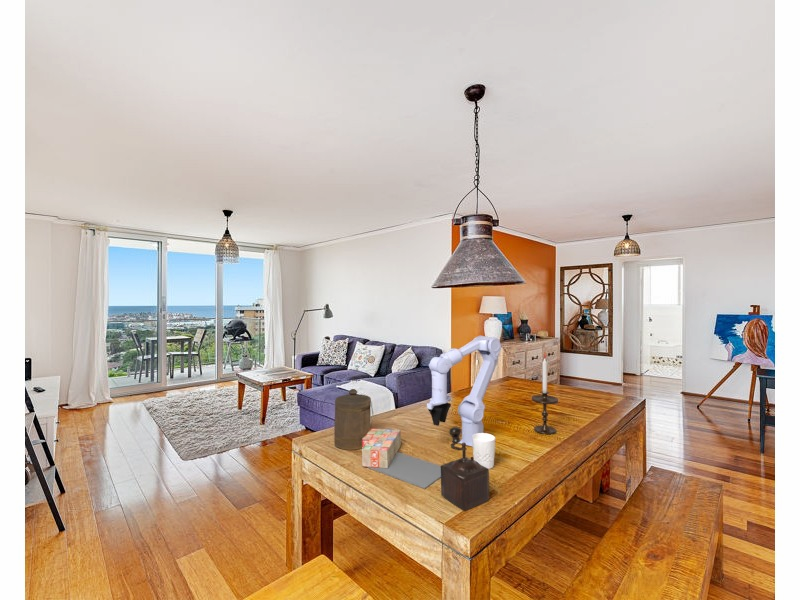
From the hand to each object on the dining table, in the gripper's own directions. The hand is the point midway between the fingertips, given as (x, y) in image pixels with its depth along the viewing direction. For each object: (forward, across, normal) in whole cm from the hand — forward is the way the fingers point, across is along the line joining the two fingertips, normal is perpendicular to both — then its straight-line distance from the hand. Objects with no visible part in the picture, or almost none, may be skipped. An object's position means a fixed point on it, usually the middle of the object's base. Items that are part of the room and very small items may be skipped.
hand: (439, 423), depth 147 cm
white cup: (+11, +2, +19) cm, 22 cm away
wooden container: (+11, +15, -32) cm, 37 cm away
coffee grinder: (+11, +24, +22) cm, 34 cm away
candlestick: (+10, -45, +26) cm, 53 cm away
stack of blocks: (+7, +15, -10) cm, 19 cm away
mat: (+10, +20, 0) cm, 22 cm away
